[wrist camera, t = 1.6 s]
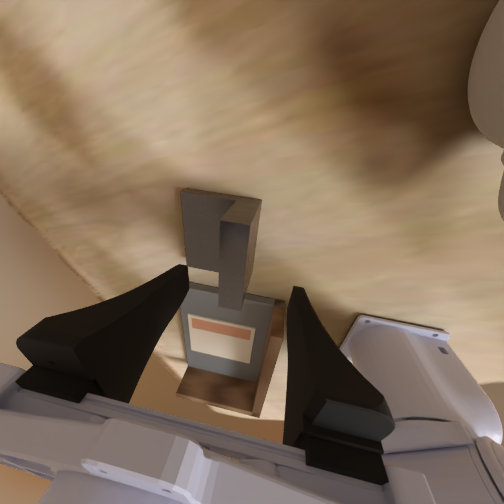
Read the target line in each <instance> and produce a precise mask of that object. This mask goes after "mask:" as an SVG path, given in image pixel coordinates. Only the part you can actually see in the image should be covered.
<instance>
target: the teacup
mask: <svg viewBox="0 0 504 504" xmlns="http://www.w3.org/2000/svg"><path fill="white" fill-rule="evenodd" d="M468 103H469V109H470V113H471V116H472V119H473V121H474V123H475V125H476V126H477V128H478V129H479V131H480V132H481V133H482V134H483V135H484V136H485V137H486V138H487V139H488V140H490V141H491V142H493V143H495V144H496V145H498V146H500V147H502V148H504V0H499V1H498V3H497V5H496V6H495V8H494V10H493V12H492V14H491V16H490V18H489V20H488V22H487V24H486V26H485V28H484V30H483V32H482V35H481V37H480V40H479V42H478V45H477V47H476V50H475V53H474V56H473V60H472V64H471V68H470V73H469V79H468ZM501 161H502V163H503V165H504V152H503V154H502V156H501ZM498 207H499V212H500V215H501V218H502V219H503V220H504V172H503V176H502V180H501V185H500V190H499V198H498Z"/></svg>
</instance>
